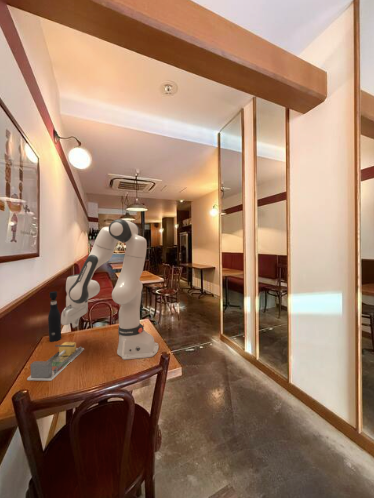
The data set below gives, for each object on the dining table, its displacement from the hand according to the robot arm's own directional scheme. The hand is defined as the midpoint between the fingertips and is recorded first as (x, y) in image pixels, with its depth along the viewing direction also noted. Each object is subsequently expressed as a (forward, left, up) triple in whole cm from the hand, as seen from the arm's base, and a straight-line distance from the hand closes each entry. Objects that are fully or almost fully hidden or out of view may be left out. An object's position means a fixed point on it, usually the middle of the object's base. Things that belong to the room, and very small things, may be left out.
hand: (75, 326), depth 119 cm
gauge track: (-1, +16, -12) cm, 20 cm away
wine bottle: (+19, -9, -12) cm, 25 cm away
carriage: (-1, +11, -11) cm, 15 cm away
